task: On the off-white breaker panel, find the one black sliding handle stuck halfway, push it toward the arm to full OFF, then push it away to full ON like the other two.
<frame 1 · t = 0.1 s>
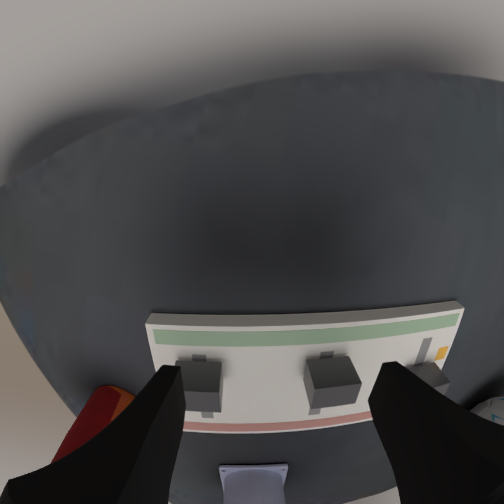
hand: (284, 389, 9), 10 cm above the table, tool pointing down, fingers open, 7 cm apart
breaker 1: (424, 384, 19), point 3 cm above the table, slide at 0.0 cm
breaker panel: (316, 374, 22), on the table
breaker 3: (197, 386, 17), point 3 cm above the table, slide at 2.3 cm
puzzle ball: (468, 414, 27), on the table
breaker 2: (330, 382, 18), point 3 cm above the table, slide at 2.3 cm
paper cup: (120, 403, 23), on the table
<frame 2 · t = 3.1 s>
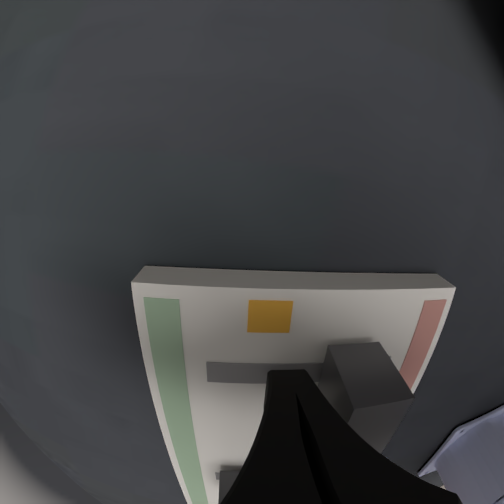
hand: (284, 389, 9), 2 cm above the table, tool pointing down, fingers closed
breaker 1: (356, 404, 8), point 3 cm above the table, slide at -1.5 cm, touching gripper
breaker panel: (275, 457, 14), on the table
breaker 2: (238, 502, 11), point 3 cm above the table, slide at 2.3 cm
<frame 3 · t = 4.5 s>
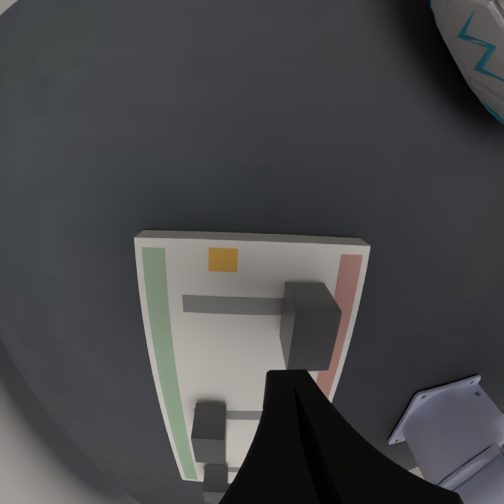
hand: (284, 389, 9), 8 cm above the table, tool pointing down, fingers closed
breaker 1: (306, 325, 13), point 3 cm above the table, slide at -2.6 cm
breaker panel: (245, 400, 19), on the table
breaker 3: (216, 485, 19), point 3 cm above the table, slide at 2.3 cm
puzzle ball: (471, 53, 12), on the table
breaker 2: (210, 434, 16), point 3 cm above the table, slide at 2.3 cm
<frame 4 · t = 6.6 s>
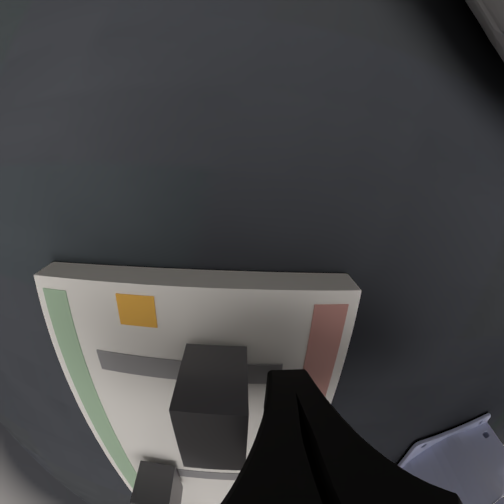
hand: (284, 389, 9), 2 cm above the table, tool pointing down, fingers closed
breaker 1: (214, 409, 8), point 3 cm above the table, slide at -1.2 cm, touching gripper
breaker panel: (203, 455, 14), on the table
puzzle ball: (492, 20, 7), on the table
breaker 2: (159, 494, 11), point 3 cm above the table, slide at 2.3 cm
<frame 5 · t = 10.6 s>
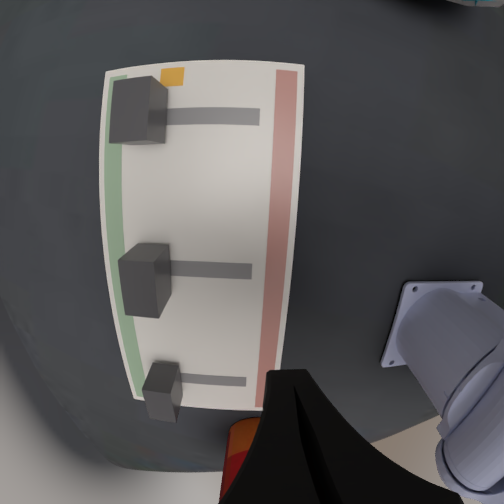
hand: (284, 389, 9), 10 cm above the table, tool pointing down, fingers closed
breaker 1: (140, 113, 13), point 3 cm above the table, slide at 2.6 cm
breaker panel: (196, 260, 19), on the table
breaker 3: (163, 392, 18), point 3 cm above the table, slide at 2.3 cm
breaker 2: (146, 278, 15), point 3 cm above the table, slide at 2.3 cm
paper cup: (257, 431, 24), on the table
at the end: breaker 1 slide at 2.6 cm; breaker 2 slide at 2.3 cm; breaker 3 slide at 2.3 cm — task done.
